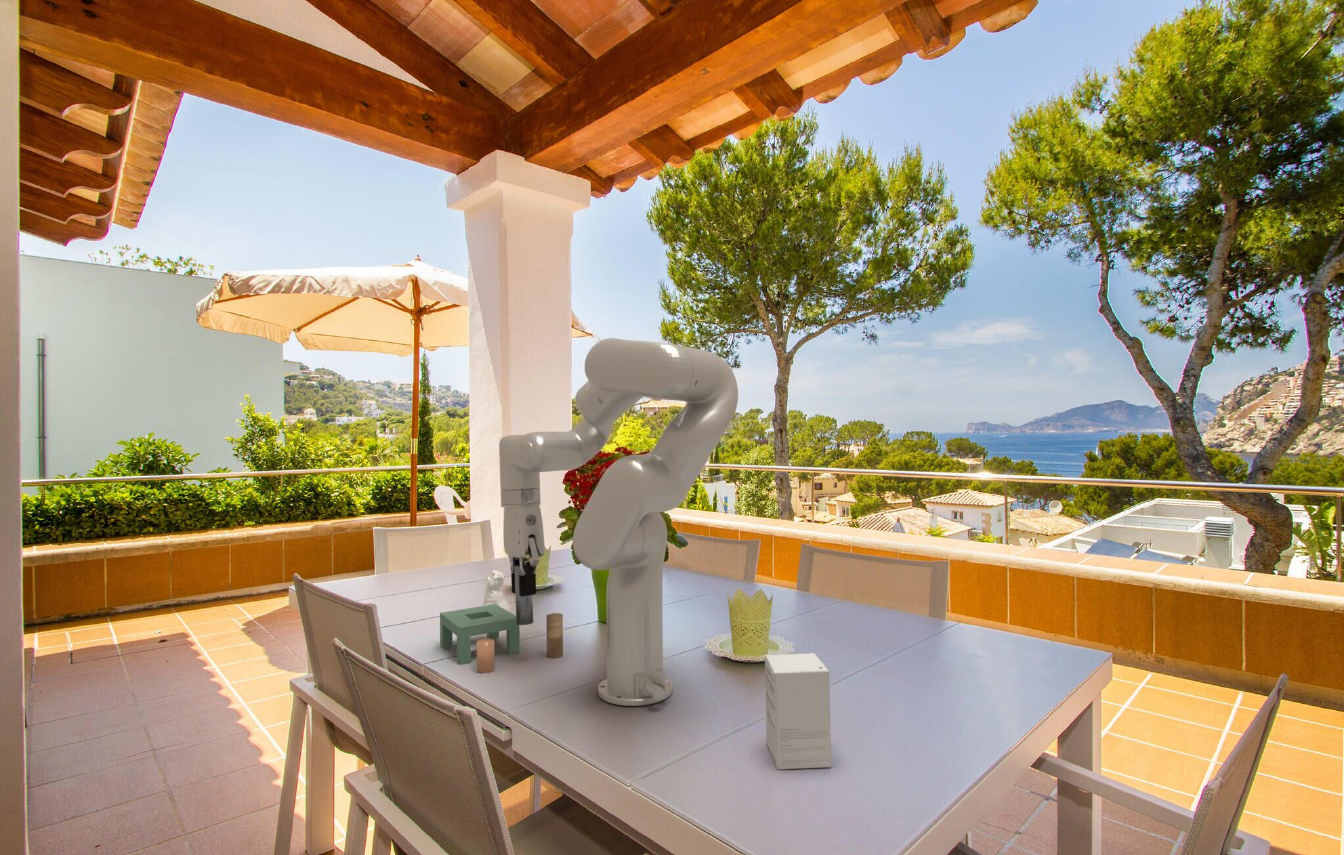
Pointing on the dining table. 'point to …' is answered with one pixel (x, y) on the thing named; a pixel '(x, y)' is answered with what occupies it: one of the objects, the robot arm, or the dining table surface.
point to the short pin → (485, 655)
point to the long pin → (522, 603)
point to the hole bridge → (478, 628)
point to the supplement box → (798, 711)
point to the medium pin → (554, 635)
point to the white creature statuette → (495, 591)
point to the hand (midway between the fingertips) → (523, 592)
